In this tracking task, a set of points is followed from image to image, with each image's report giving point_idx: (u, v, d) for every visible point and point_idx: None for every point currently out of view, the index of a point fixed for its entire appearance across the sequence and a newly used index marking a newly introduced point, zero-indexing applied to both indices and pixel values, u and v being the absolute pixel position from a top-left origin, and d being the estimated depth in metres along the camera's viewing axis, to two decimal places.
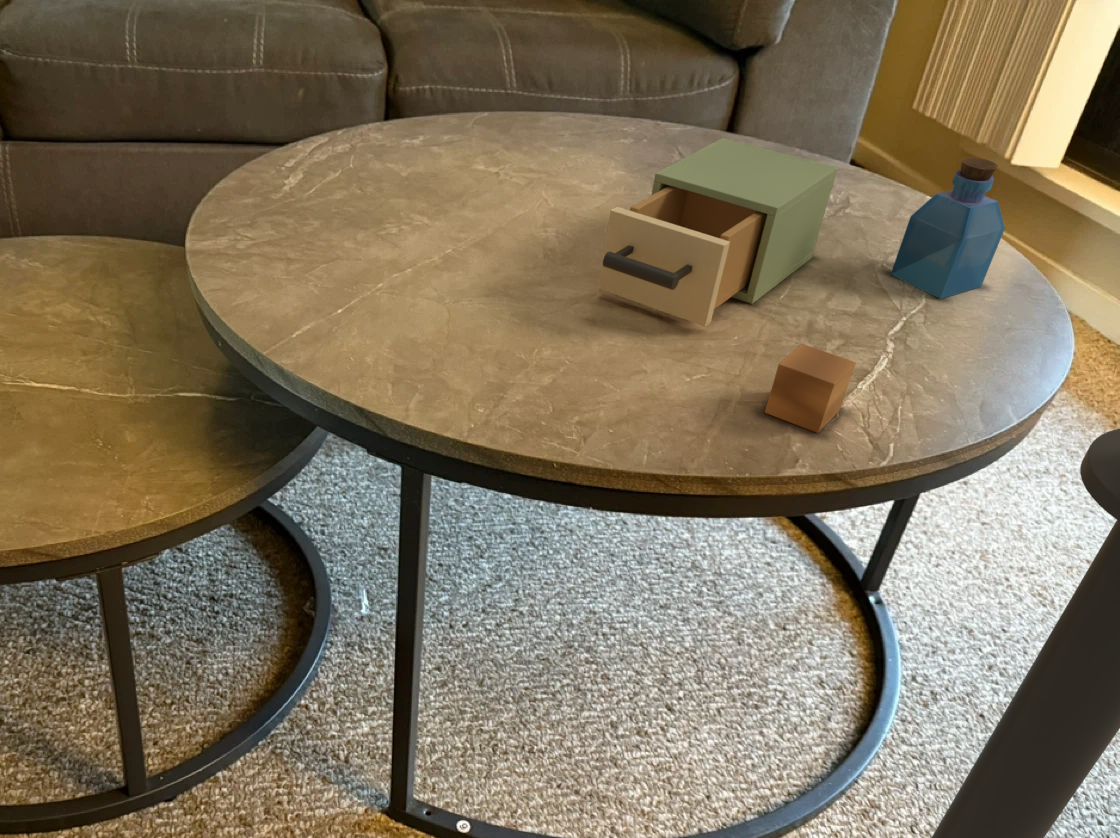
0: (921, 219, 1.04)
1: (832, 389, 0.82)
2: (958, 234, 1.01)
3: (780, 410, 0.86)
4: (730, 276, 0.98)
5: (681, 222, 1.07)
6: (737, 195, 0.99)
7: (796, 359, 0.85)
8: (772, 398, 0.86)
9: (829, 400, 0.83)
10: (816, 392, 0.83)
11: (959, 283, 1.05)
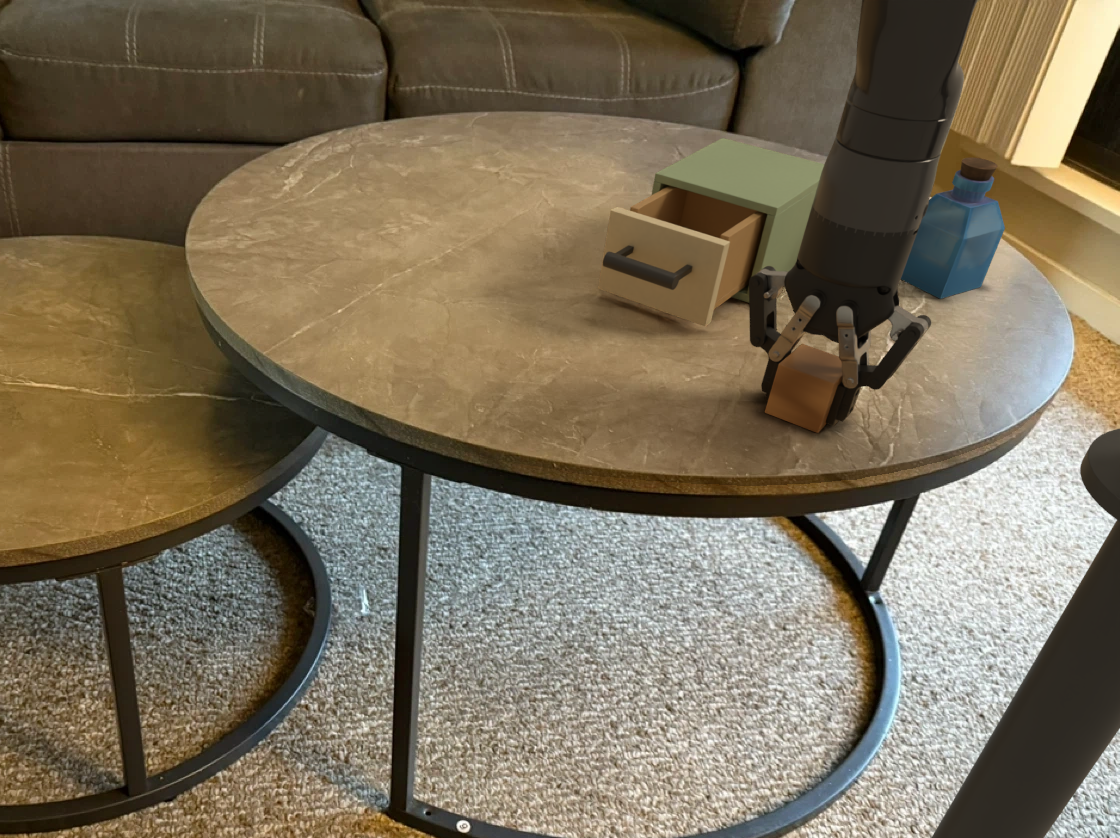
0: None
1: (832, 389, 0.82)
2: (958, 234, 1.01)
3: (780, 410, 0.86)
4: (730, 276, 0.98)
5: (681, 222, 1.07)
6: (737, 195, 0.99)
7: (796, 359, 0.85)
8: (772, 398, 0.86)
9: (829, 400, 0.83)
10: (816, 392, 0.83)
11: (959, 283, 1.05)
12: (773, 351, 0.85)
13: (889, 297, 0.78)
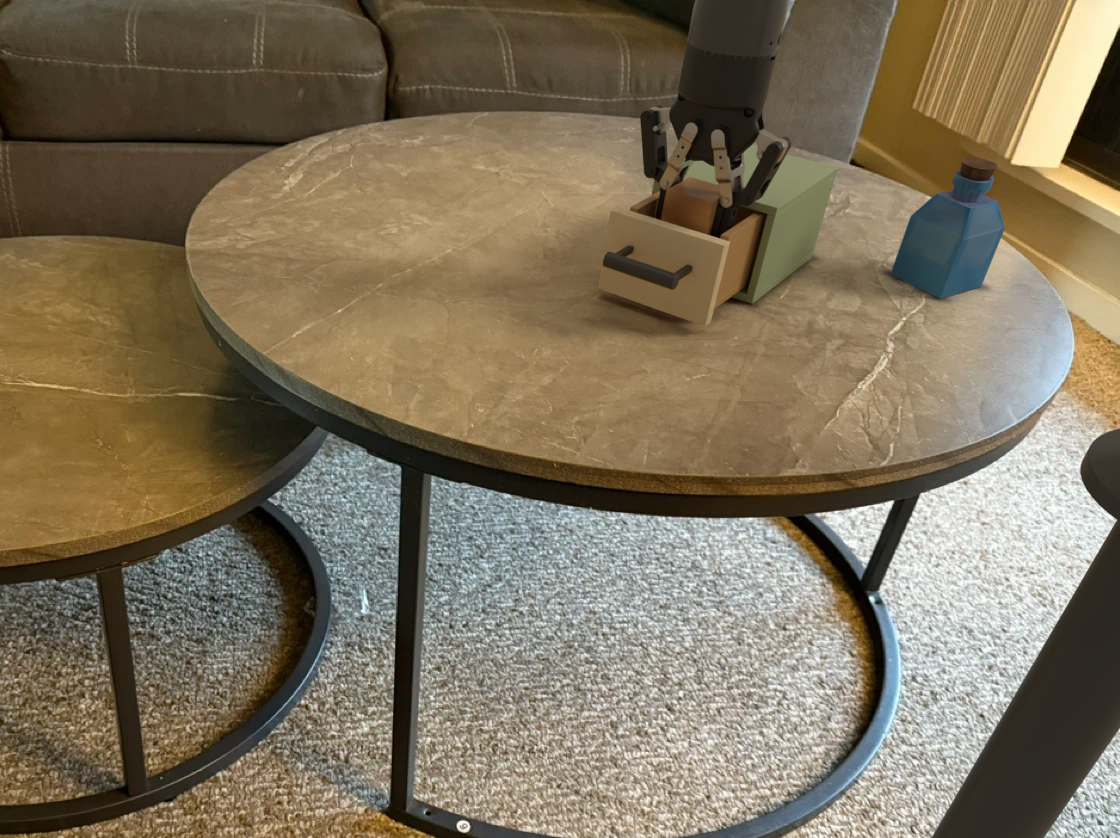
0: (921, 219, 1.04)
1: (711, 208, 0.95)
2: (958, 234, 1.01)
3: None
4: (730, 276, 0.98)
5: None
6: None
7: (682, 187, 0.97)
8: None
9: (709, 219, 0.95)
10: (698, 212, 0.96)
11: (959, 283, 1.05)
12: (663, 180, 0.97)
13: (754, 119, 0.90)
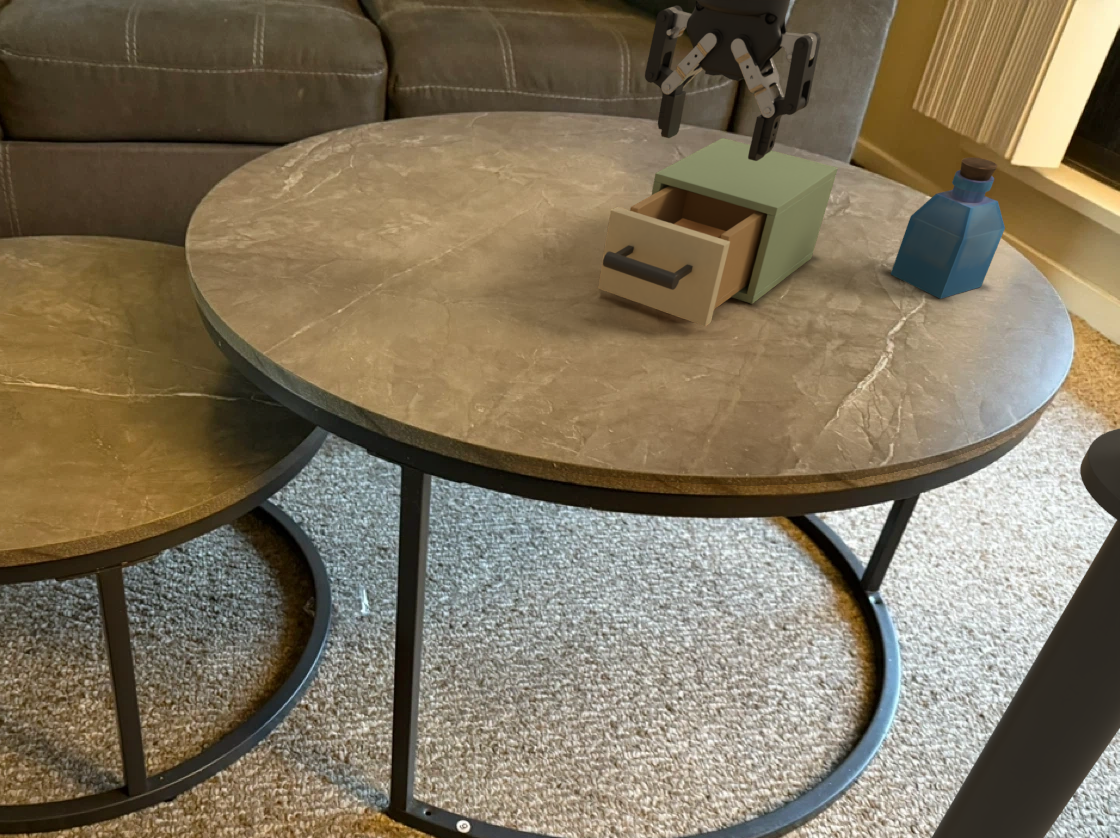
0: (921, 219, 1.04)
1: None
2: (958, 234, 1.01)
3: None
4: (730, 276, 0.98)
5: None
6: (737, 195, 0.99)
7: None
8: None
9: None
10: None
11: (959, 283, 1.05)
12: (665, 84, 0.93)
13: (776, 26, 0.86)
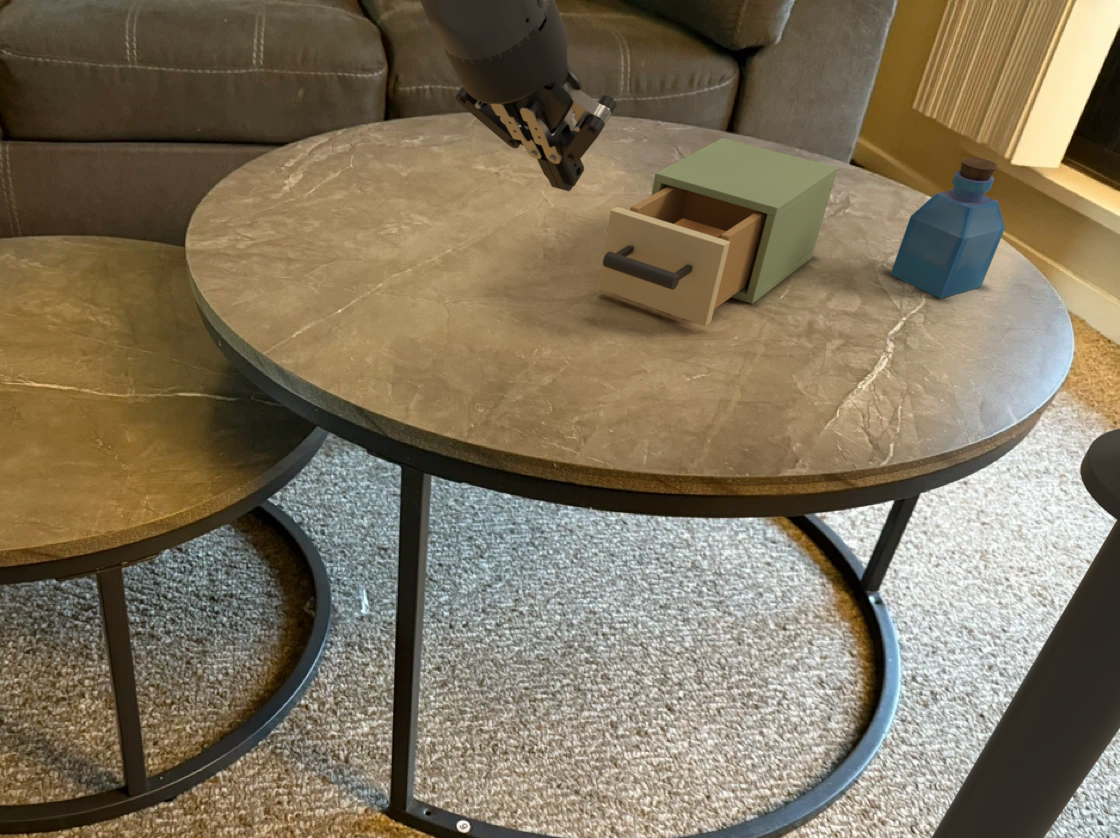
0: (921, 219, 1.04)
1: None
2: (958, 234, 1.01)
3: None
4: (730, 276, 0.98)
5: None
6: (737, 195, 0.99)
7: None
8: None
9: None
10: None
11: (959, 283, 1.05)
12: (530, 151, 0.78)
13: (558, 89, 0.69)
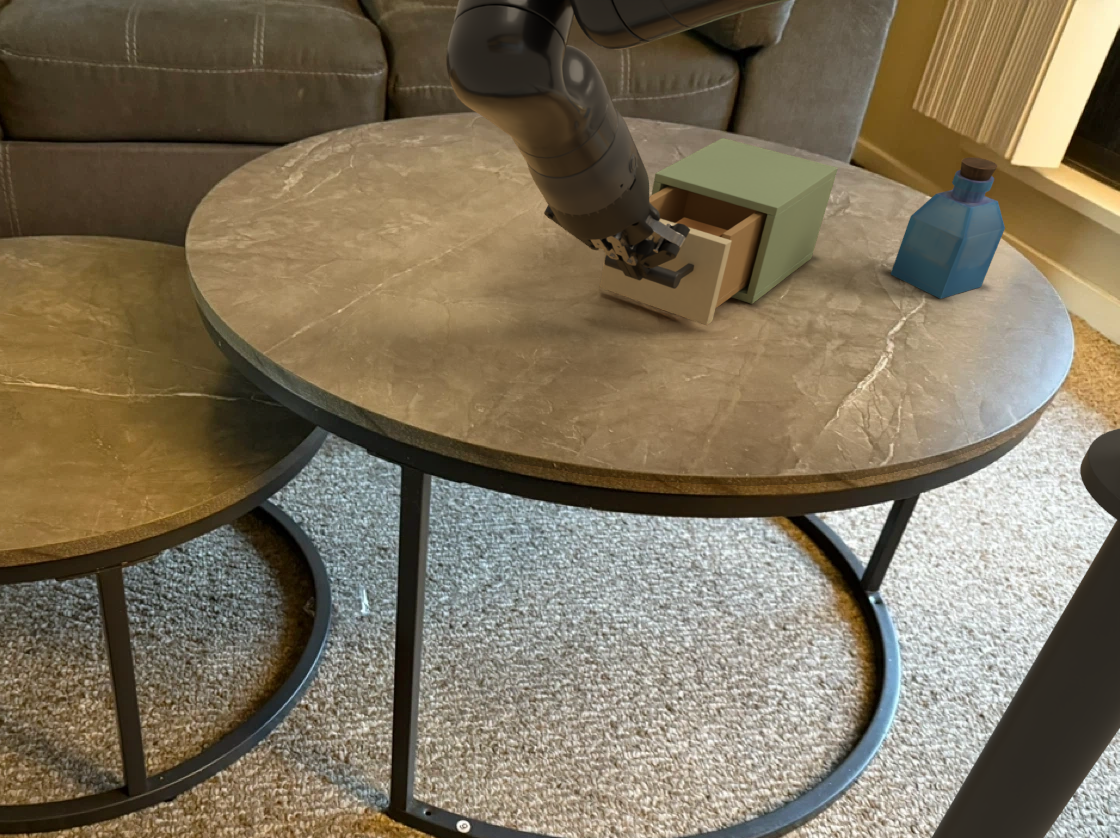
0: (921, 219, 1.04)
1: None
2: (958, 234, 1.01)
3: None
4: (732, 275, 0.98)
5: None
6: (737, 195, 0.99)
7: None
8: None
9: None
10: None
11: (959, 283, 1.05)
12: (609, 254, 0.90)
13: (641, 225, 0.81)
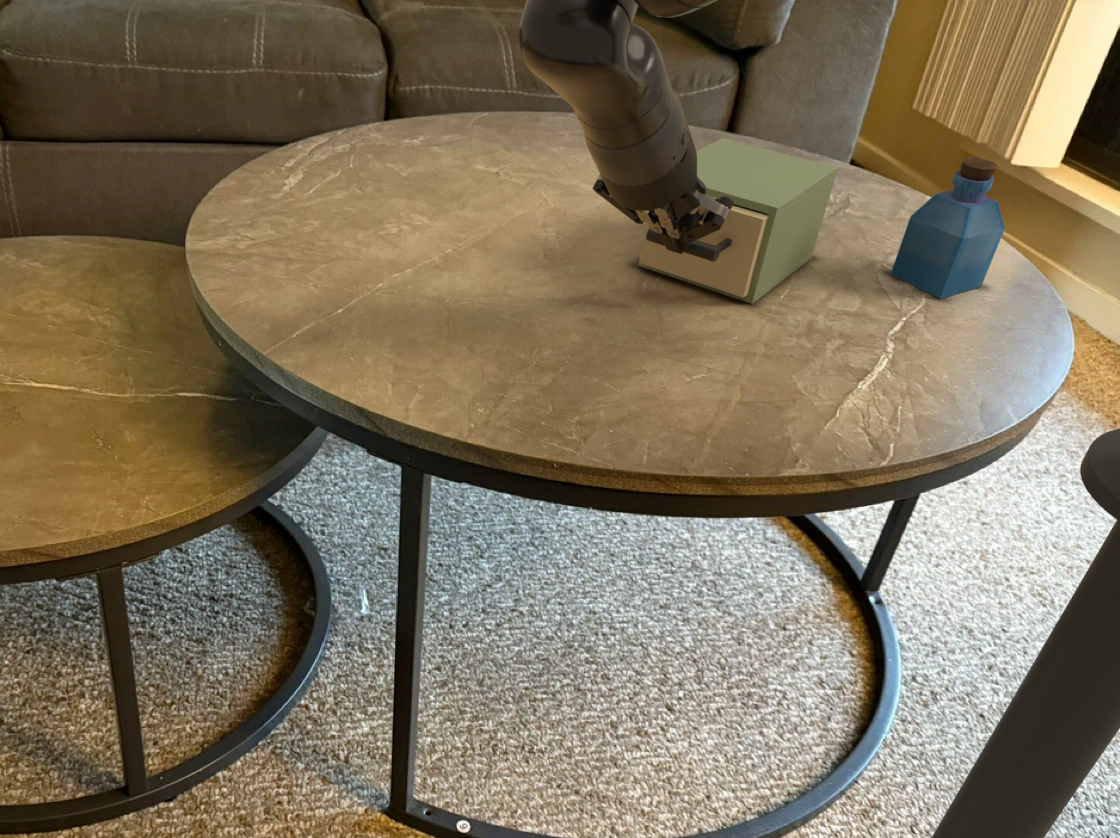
0: (921, 219, 1.04)
1: None
2: (958, 234, 1.01)
3: None
4: None
5: None
6: (737, 195, 0.99)
7: None
8: None
9: None
10: None
11: (959, 283, 1.05)
12: (653, 228, 0.95)
13: (689, 197, 0.86)
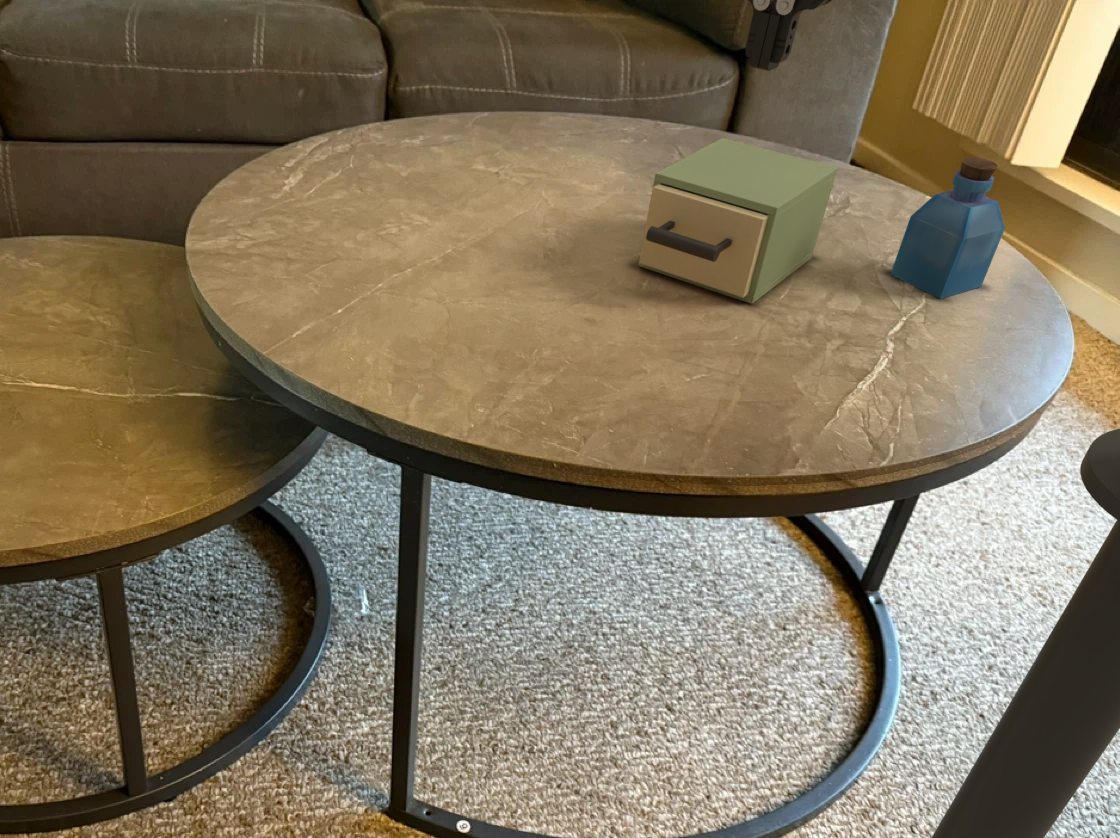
0: (921, 219, 1.04)
1: None
2: (958, 234, 1.01)
3: None
4: None
5: None
6: (737, 195, 0.99)
7: None
8: None
9: None
10: None
11: (959, 283, 1.05)
12: None
13: None
